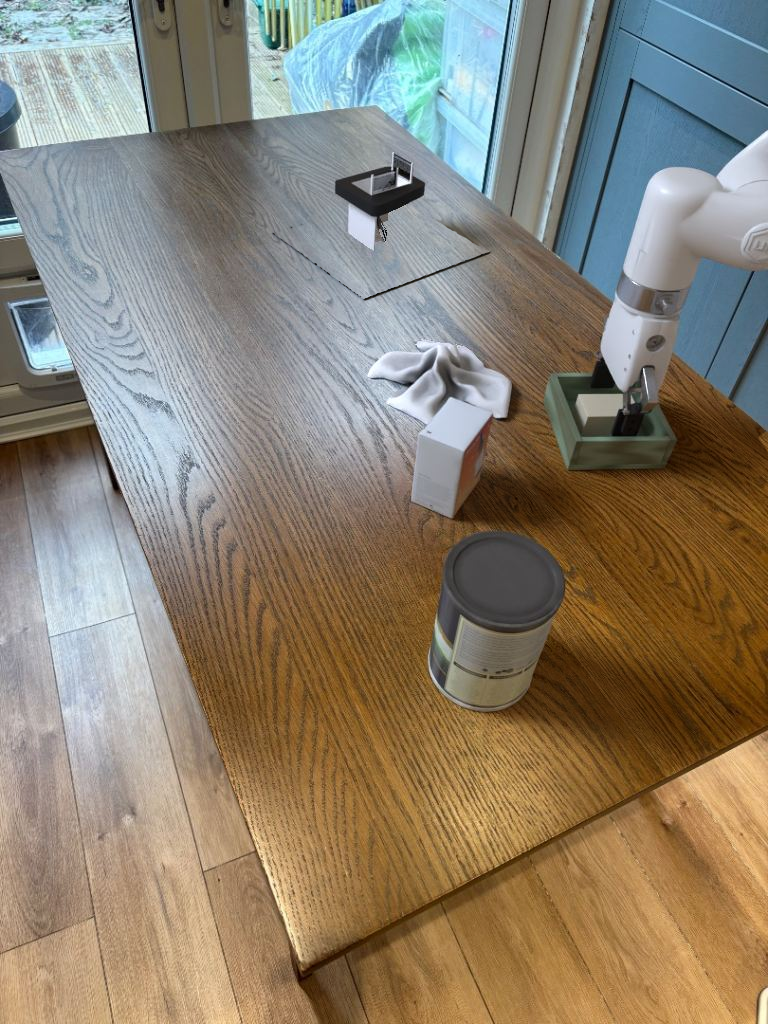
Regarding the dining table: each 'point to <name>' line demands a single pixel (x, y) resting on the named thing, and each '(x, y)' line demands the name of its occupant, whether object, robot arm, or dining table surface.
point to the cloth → (442, 380)
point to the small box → (450, 456)
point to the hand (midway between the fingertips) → (611, 410)
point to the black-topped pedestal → (377, 198)
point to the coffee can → (493, 618)
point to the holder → (604, 451)
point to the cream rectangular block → (597, 413)
